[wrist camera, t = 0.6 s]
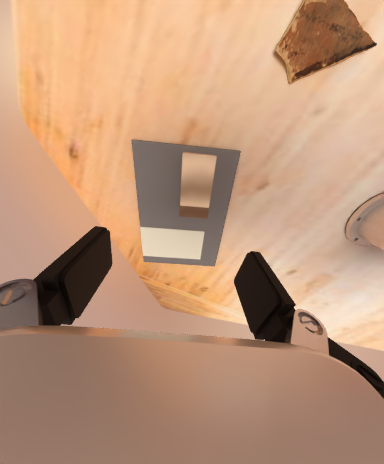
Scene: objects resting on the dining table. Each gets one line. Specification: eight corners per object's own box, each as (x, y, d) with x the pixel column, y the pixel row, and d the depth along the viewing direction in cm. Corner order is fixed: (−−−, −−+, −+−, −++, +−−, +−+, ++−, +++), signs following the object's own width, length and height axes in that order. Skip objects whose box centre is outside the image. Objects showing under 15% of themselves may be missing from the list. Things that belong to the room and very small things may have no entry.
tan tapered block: (183, 151, 25) (182, 152, 21) (213, 154, 25) (217, 156, 21) (180, 208, 30) (179, 216, 26) (205, 210, 30) (207, 218, 26)
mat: (239, 150, 25) (240, 150, 24) (214, 264, 38) (214, 266, 37) (132, 139, 24) (131, 139, 24) (144, 260, 37) (143, 262, 36)
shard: (365, 50, 20) (380, 42, 18) (316, 113, 23) (325, 111, 21) (311, -18, 17) (323, -35, 15) (264, 65, 20) (270, 58, 19)
